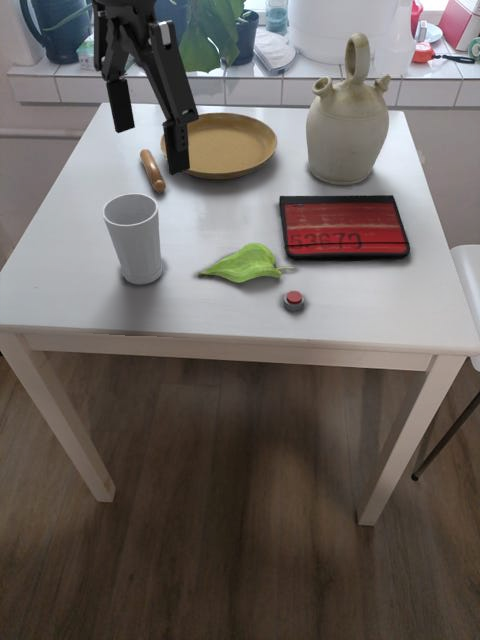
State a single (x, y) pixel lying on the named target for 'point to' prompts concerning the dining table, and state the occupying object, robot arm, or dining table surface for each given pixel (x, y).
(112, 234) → the cup
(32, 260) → the dining table surface
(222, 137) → the plant saucer
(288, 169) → the dining table surface
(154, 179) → the dowel
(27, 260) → the dining table surface
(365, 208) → the notebook
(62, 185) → the dining table surface
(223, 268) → the leaf
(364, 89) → the jug
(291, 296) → the push button
